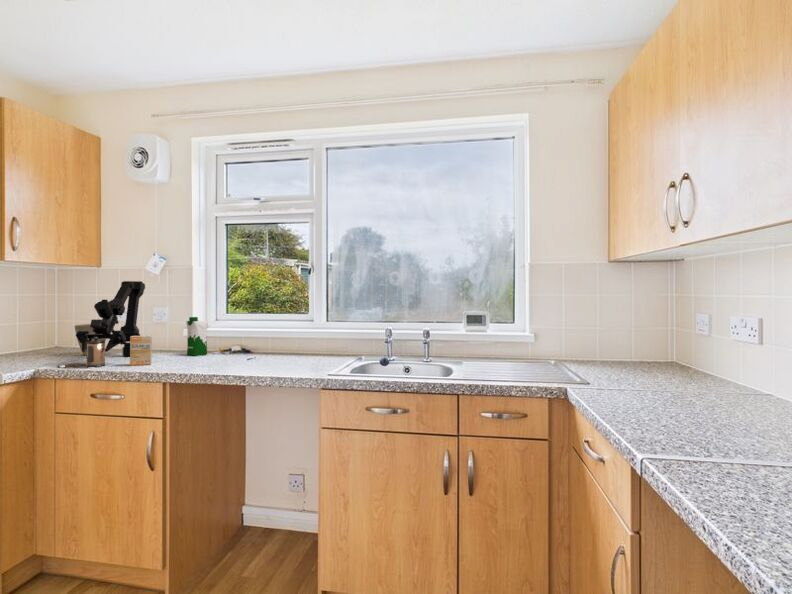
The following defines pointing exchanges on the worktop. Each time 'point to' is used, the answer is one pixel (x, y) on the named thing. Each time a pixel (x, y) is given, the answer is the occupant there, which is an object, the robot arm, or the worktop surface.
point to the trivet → (74, 364)
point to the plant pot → (85, 328)
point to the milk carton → (197, 337)
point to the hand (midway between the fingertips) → (94, 351)
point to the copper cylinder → (95, 353)
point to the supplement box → (140, 350)
